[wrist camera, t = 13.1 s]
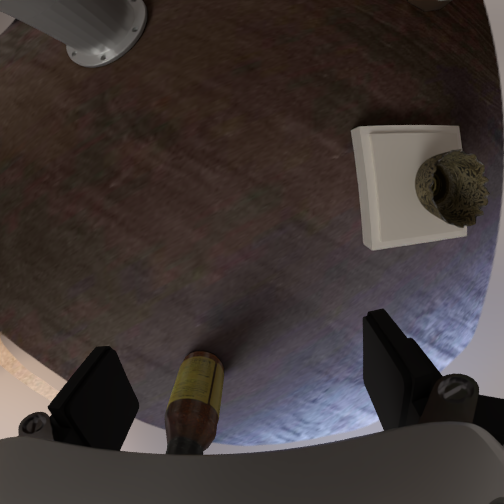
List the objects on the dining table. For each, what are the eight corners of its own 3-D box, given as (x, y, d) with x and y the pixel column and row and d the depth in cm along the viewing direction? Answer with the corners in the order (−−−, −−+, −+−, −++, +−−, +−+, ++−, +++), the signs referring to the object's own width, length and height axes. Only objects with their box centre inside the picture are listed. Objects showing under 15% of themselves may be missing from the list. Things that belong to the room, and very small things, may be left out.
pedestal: (350, 130, 34) (360, 125, 30) (445, 128, 33) (461, 125, 29) (363, 243, 37) (373, 251, 33) (453, 230, 36) (469, 236, 32)
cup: (455, 164, 30) (496, 165, 23) (442, 222, 32) (480, 236, 24) (405, 142, 30) (441, 137, 22) (391, 205, 32) (425, 215, 24)
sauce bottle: (174, 363, 43) (130, 467, 23) (202, 340, 41) (166, 450, 22) (206, 390, 44) (181, 497, 24) (236, 369, 42) (221, 483, 23)
